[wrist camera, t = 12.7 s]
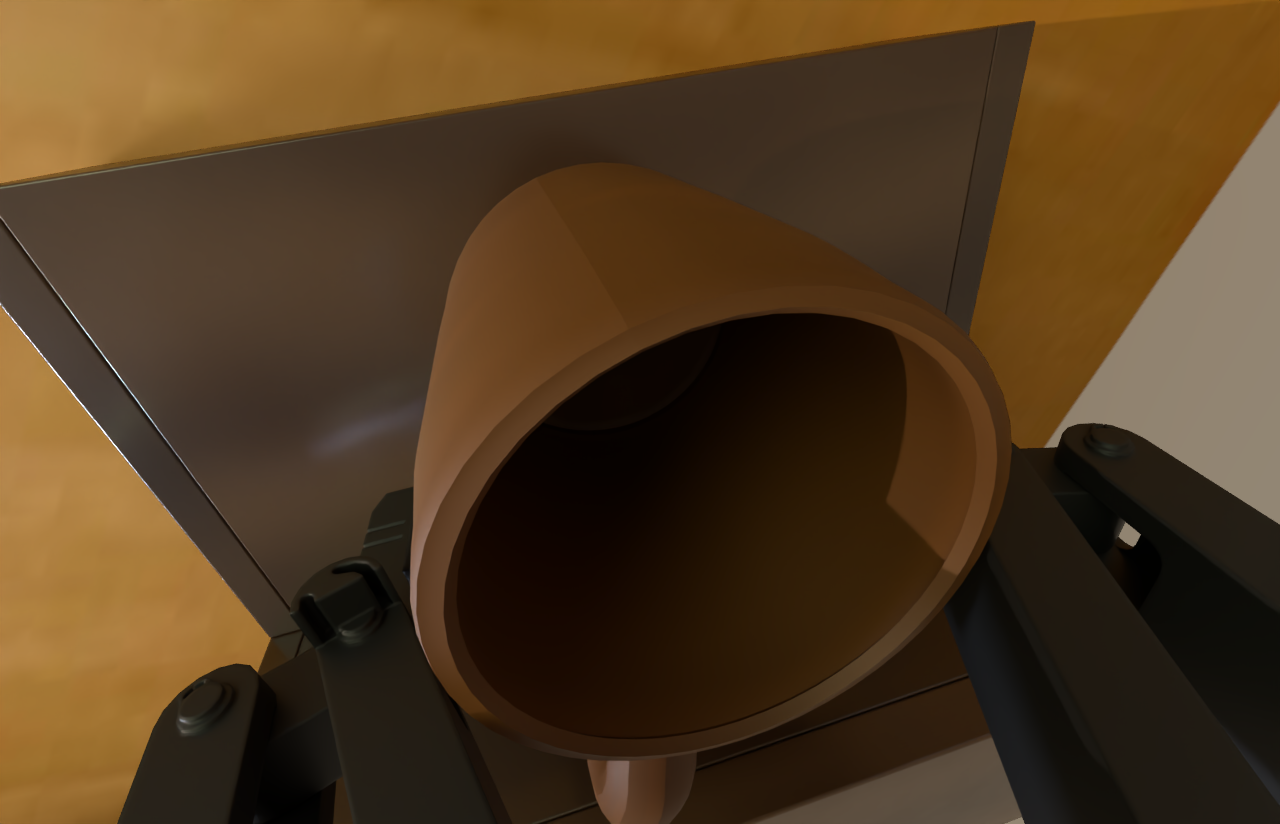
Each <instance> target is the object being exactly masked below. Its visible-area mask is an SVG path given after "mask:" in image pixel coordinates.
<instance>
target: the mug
mask: <svg viewBox="0 0 1280 824" xmlns="http://www.w3.org/2000/svg"><path fill="white" fill-rule="evenodd" d="M1011 453H1012V446H1011V430H1010V420H1009V416H1008V412H1007V408H1006V404H1005V400H1004V396H1003V393H1002V391H1001V389H1000V387H999V385H998V383H997V381H996V379H995V376H994V374H993V372H992V370H991V368H990V366H989V364H988V362H987V361H986V359H985V357H984V356H983V354H982V353H981V352H980V350H979V349H978V348H977V346H976V345H975V344H974V343H973V341H972V340H971V339H970V337H969V336H968V335H967V333H966V332H965V331H964V330H962V329H961V328H960V327H959V326H958V325H957V324H955V323H954V322H953V321H952V320H951V319H950V318H949V317H947V316H946V315H945V314H944V313H943V312H942V311H940V310H939V309H937V308H936V307H934V306H932V305H931V304H929V303H927V302H926V301H924V300H923V299H921V298H919V297H917V296H916V295H914V294H912V293H910V292H909V291H907V290H905V289H903V288H901V287H900V286H898V285H896V284H894V283H893V282H891V281H889V280H888V279H886V278H885V277H883V276H882V275H880V274H879V273H877V272H876V271H874V270H873V269H871V268H870V267H868V266H867V265H865V264H864V263H862V262H860V261H859V260H857V259H856V258H854V257H852V256H850V255H849V254H847V253H845V252H843V251H842V250H840V249H838V248H836V247H835V246H833V245H831V244H829V243H828V242H826V241H824V240H822V239H820V238H818V237H816V236H814V235H812V234H810V233H807V232H805V231H803V230H800V229H798V228H795V227H793V226H791V225H788V224H786V223H784V222H781V221H779V220H777V219H774V218H772V217H769V216H767V215H765V214H762V213H760V212H758V211H755V210H753V209H750V208H748V207H746V206H743V205H741V204H739V203H736V202H734V201H731V200H729V199H727V198H724V197H722V196H719V195H717V194H714V193H711V192H709V191H706V190H703V189H701V188H698V187H695V186H693V185H690V184H687V183H685V182H683V181H680V180H678V179H676V178H673V177H670V176H668V175H665V174H662V173H660V172H657V171H654V170H651V169H648V168H643V167H638V166H633V165H629V164H621V163H603V162H599V163H588V164H578V165H574V166H570V167H565V168H561V169H557V170H554V171H552V172H549V173H547V174H544V175H542V176H539V177H536V178H534V179H533V180H531V181H529V182H527V183H526V184H524V185H522V186H520V187H519V188H517V189H515V190H514V191H513V192H512V193H510V194H509V195H508V196H506V197H505V198H504V199H503V200H501V201H500V202H499V203H498V204H497V205H496V206H495V207H494V208H493V209H492V210H491V211H490V212H489V213H488V214H487V215H486V216H485V217H484V218H483V219H482V220H481V222H480V223H479V225H478V226H477V227H476V229H475V230H474V232H473V233H472V234H471V236H470V237H469V239H468V241H467V243H466V245H465V247H464V249H463V251H462V253H461V255H460V257H459V259H458V261H457V264H456V266H455V269H454V272H453V275H452V278H451V281H450V285H449V289H448V294H447V299H446V305H445V310H444V314H443V318H442V322H441V326H440V330H439V335H438V340H437V345H436V351H435V356H434V361H433V367H432V372H431V377H430V383H429V388H428V393H427V399H426V404H425V409H424V415H423V420H422V425H421V431H420V436H419V441H418V447H417V452H416V460H415V468H414V503H413V533H412V543H411V567H410V604H411V609H412V615H413V620H414V625H415V630H416V634H417V637H418V639H419V641H420V644H421V646H422V648H423V651H424V653H425V656H426V658H427V660H428V662H429V664H430V666H431V668H432V670H433V672H434V673H435V675H436V676H437V678H438V679H439V681H440V682H441V684H442V685H443V687H444V688H445V690H446V691H447V693H448V694H449V695H450V696H451V697H452V698H453V699H454V700H455V701H456V702H457V703H458V704H459V705H460V706H461V707H462V708H463V709H464V710H465V711H466V712H467V713H468V714H469V715H470V716H471V717H473V718H474V719H476V720H477V721H479V722H480V723H481V724H483V725H484V726H486V727H487V728H489V729H490V730H491V731H493V732H495V733H497V734H500V735H502V736H504V737H506V738H508V739H510V740H512V741H514V742H516V743H518V744H521V745H524V746H527V747H530V748H533V749H536V750H539V751H542V752H546V753H551V754H556V755H560V756H565V757H570V758H579V759H587V762H588V768H589V772H590V776H591V780H592V785H593V789H594V793H595V797H596V800H597V802H598V804H599V806H600V809H601V811H602V813H603V814H604V815H605V816H606V818H607V819H608V820H609V822H610V823H611V824H669V823H670V822H671V821H672V820H673V819H674V818H675V816H676V815H677V814H678V813H679V812H680V810H681V809H682V807H683V805H684V804H685V802H686V800H687V798H688V796H689V793H690V790H691V786H692V783H693V779H694V774H695V769H696V756H697V752H700V751H704V750H708V749H713V748H717V747H720V746H724V745H727V744H730V743H733V742H737V741H740V740H743V739H746V738H749V737H752V736H754V735H757V734H760V733H762V732H765V731H768V730H770V729H773V728H775V727H778V726H780V725H782V724H784V723H787V722H789V721H791V720H793V719H795V718H798V717H800V716H802V715H804V714H806V713H808V712H809V711H811V710H813V709H815V708H817V707H819V706H821V705H823V704H825V703H826V702H828V701H830V700H831V699H833V698H835V697H836V696H838V695H840V694H841V693H843V692H844V691H846V690H848V689H849V688H851V687H853V686H854V685H856V684H857V683H858V682H860V681H861V680H863V679H864V678H865V677H867V676H868V675H870V674H871V673H873V672H874V671H875V670H877V669H878V668H879V667H881V666H882V665H883V664H884V663H886V662H887V661H888V660H889V659H891V658H892V657H893V656H894V655H895V654H897V653H898V652H899V651H900V650H902V649H903V648H904V647H905V646H906V645H907V644H908V643H909V642H910V641H911V640H912V639H913V638H914V637H915V636H917V635H918V634H919V633H920V632H921V631H922V630H923V629H924V628H925V627H926V626H927V625H928V624H929V622H930V621H931V620H932V619H933V618H934V617H935V616H936V615H937V614H938V613H939V612H940V610H941V609H942V608H943V607H944V606H945V605H946V603H947V602H948V601H949V600H950V598H951V597H952V596H953V594H954V593H955V592H956V591H957V589H958V588H959V587H960V586H961V584H962V583H963V581H964V580H965V578H966V577H967V575H968V574H969V572H970V571H971V569H972V568H973V566H974V564H975V563H976V561H977V560H978V558H979V556H980V554H981V552H982V550H983V548H984V547H985V545H986V543H987V541H988V539H989V537H990V535H991V533H992V530H993V528H994V525H995V523H996V520H997V518H998V515H999V512H1000V510H1001V507H1002V504H1003V500H1004V496H1005V492H1006V488H1007V484H1008V480H1009V472H1010V463H1011Z"/></svg>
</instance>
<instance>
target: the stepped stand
mask: <svg viewBox="0 0 1280 824" xmlns="http://www.w3.org/2000/svg"><path fill="white" fill-rule="evenodd" d="M1034 27H1035V21H1027V22H1019V23H1012V24H1004V25H997V26H989V27H982V28H974V29H967V30H959V31H952V32H944V33H937V34H930V35H922V36H915V37H907V38H900V39H893V40H887V41H880V42H874V43H868V44H862V45H855V46H849V47H843V48H836V49H830V50H824V51H817V52H811V53H805V54H798V55H792V56H786V57H780V58H773V59H767V60H761V61H754V62H748V63H742V64H735V65H729V66H723V67H717V68H710V69H704V70H698V71H691V72H685V73H679V74H672V75H666V76H660V77H653V78H647V79H641V80H635V81H628V82H622V83H616V84H609V85H603V86H597V87H590V88H584V89H578V90H572V91H565V92H559V93H553V94H546V95H540V96H534V97H527V98H521V99H515V100H508V101H502V102H496V103H490V104H483V105H477V106H471V107H464V108H458V109H452V110H445V111H439V112H433V113H426V114H420V115H414V116H408V117H401V118H395V119H389V120H382V121H376V122H370V123H363V124H357V125H351V126H345V127H338V128H332V129H326V130H319V131H313V132H307V133H300V134H294V135H288V136H281V137H275V138H269V139H263V140H256V141H250V142H244V143H237V144H231V145H225V146H218V147H212V148H206V149H200V150H193V151H187V152H181V153H174V154H168V155H162V156H155V157H149V158H143V159H136V160H131V161H124V162H118V163H111V164H105V165H99V166H92V167H87V168H81V169H76V170H70V171H65V172H60V173H54V174H49V175H43V176H38V177H33V178H27V179H22V180H16V181H11V182H5V183H0V305H1V306H2V308H3V309H4V310H5V311H6V313H7V314H8V315H9V316H10V318H11V319H12V320H13V321H14V322H15V324H16V325H17V326H18V327H19V329H20V330H21V331H22V332H23V334H24V335H25V336H26V337H27V339H28V340H29V341H30V342H31V343H32V345H33V346H34V347H35V348H36V350H37V351H38V352H39V353H40V355H41V356H42V357H43V358H44V359H45V361H46V362H47V363H48V364H49V366H50V367H51V368H52V369H53V371H54V372H55V373H56V374H57V375H58V377H59V378H60V379H61V380H62V382H63V383H64V384H65V385H66V387H67V388H68V389H69V390H70V392H71V393H72V394H73V395H74V396H75V398H76V399H77V400H78V401H79V403H80V404H81V405H82V406H83V408H84V409H85V410H86V411H87V412H88V414H89V415H90V416H91V417H92V419H93V420H94V421H95V422H96V424H97V425H98V426H99V427H100V429H101V430H102V431H103V432H104V433H105V435H106V436H107V437H108V438H109V440H110V441H111V442H112V443H113V445H114V446H115V447H116V448H117V449H118V451H119V452H120V453H121V454H122V456H123V457H124V458H125V459H126V461H127V462H128V463H129V464H130V465H131V467H132V468H133V469H134V470H135V472H136V473H137V474H138V475H139V477H140V478H141V479H142V480H143V482H144V483H145V484H146V485H147V486H148V488H149V489H150V490H151V491H152V493H153V494H154V495H155V496H156V498H157V499H158V500H159V501H160V502H161V504H162V505H163V506H164V507H165V509H166V510H167V511H168V512H169V514H170V515H171V516H172V517H173V519H174V520H175V521H176V522H177V523H178V525H179V526H180V527H181V528H182V530H183V531H184V532H185V533H186V535H187V536H188V537H189V538H190V539H191V541H192V542H193V543H194V544H195V546H196V547H197V548H198V549H199V551H200V552H201V553H202V554H203V555H204V557H205V558H206V559H207V560H208V562H209V563H210V564H211V565H212V567H213V568H214V569H215V570H216V572H217V573H218V574H219V575H220V576H221V578H222V579H223V580H224V581H225V583H226V584H227V585H228V586H229V588H230V589H231V590H232V591H233V592H234V594H235V595H236V596H237V597H238V599H239V600H240V601H241V602H242V604H243V605H244V606H245V607H246V609H247V610H248V611H249V612H250V613H251V615H252V616H253V617H254V618H255V620H256V621H257V622H258V623H259V625H260V626H261V627H262V628H263V629H264V631H265V632H266V633H267V634H268V636H269V637H271V640H270V642H269V645H268V647H267V650H266V652H265V655H264V657H263V660H262V662H261V665H260V668H259V670H258V674H259V675H260V676H261V675H263V674H265V673H267V672H268V671H270V670H272V669H274V668H276V667H278V666H280V665H282V664H283V663H285V662H287V661H289V660H291V659H293V658H295V657H297V656H298V655H300V654H302V653H303V652H305V651H307V650H308V649H310V648H311V647H313V645H312V644H311V643H310V641H309V640H308V639H307V637H306V636H305V635H304V633H303V632H302V631H301V629H300V628H299V627H298V625H297V624H296V623H295V621H294V620H293V619H292V617H291V616H290V607H291V602H292V600H293V598H294V597H295V595H296V593H297V592H298V590H299V588H300V587H301V586H302V585H303V584H304V583H305V582H306V581H307V580H308V579H310V578H311V577H312V576H313V575H314V574H315V573H317V572H319V571H320V570H322V569H323V568H325V567H326V566H328V565H330V564H332V563H334V562H337V561H340V560H342V559H345V558H348V557H355V556H360V554H361V551H362V549H363V548H364V546H363V543H364V540H365V536H366V534H367V533H368V531H367V529H368V525H369V521H370V518H371V514H372V511H373V510H374V509H375V507H376V506H377V505H378V504H379V502H380V501H381V500H382V498H383V497H384V496H385V495H386V493H390V492H394V491H398V490H402V489H406V488H410V487H414V468H415V460H416V452H417V447H418V441H419V436H420V431H421V425H422V420H423V415H424V409H425V404H426V399H427V393H428V388H429V383H430V377H431V372H432V367H433V361H434V356H435V351H436V345H437V340H438V335H439V330H440V326H441V322H442V318H443V314H444V310H445V305H446V299H447V294H448V289H449V285H450V281H451V278H452V275H453V272H454V269H455V266H456V264H457V261H458V259H459V257H460V255H461V253H462V251H463V249H464V247H465V245H466V243H467V241H468V239H469V237H470V236H471V234H472V233H473V232H474V230H475V229H476V227H477V226H478V225H479V223H480V222H481V220H482V219H483V218H484V217H485V216H486V215H487V214H488V213H489V212H490V211H491V210H492V209H493V208H494V207H495V206H496V205H497V204H498V203H499V202H500V201H501V200H503V199H504V198H505V197H506V196H508V195H509V194H510V193H512V192H513V191H514V190H515V189H517V188H519V187H520V186H522V185H524V184H526V183H527V182H529V181H531V180H533V179H534V178H536V177H539V176H542V175H544V174H547V173H549V172H552V171H554V170H557V169H561V168H565V167H570V166H574V165H578V164H588V163H599V162H603V163H621V164H629V165H633V166H638V167H643V168H648V169H651V170H654V171H657V172H660V173H662V174H665V175H668V176H670V177H673V178H676V179H678V180H680V181H683V182H685V183H687V184H690V185H693V186H695V187H698V188H701V189H703V190H706V191H709V192H711V193H714V194H717V195H719V196H722V197H724V198H727V199H729V200H731V201H734V202H736V203H739V204H741V205H743V206H746V207H748V208H750V209H753V210H755V211H758V212H760V213H762V214H765V215H767V216H769V217H772V218H774V219H777V220H779V221H781V222H784V223H786V224H788V225H791V226H793V227H795V228H798V229H800V230H803V231H805V232H807V233H810V234H812V235H814V236H816V237H818V238H820V239H822V240H824V241H826V242H828V243H829V244H831V245H833V246H835V247H836V248H838V249H840V250H842V251H843V252H845V253H847V254H849V255H850V256H852V257H854V258H856V259H857V260H859V261H860V262H862V263H864V264H865V265H867V266H868V267H870V268H871V269H873V270H874V271H876V272H877V273H879V274H880V275H882V276H883V277H885V278H886V279H888V280H889V281H891V282H893V283H894V284H896V285H898V286H900V287H901V288H903V289H905V290H907V291H909V292H910V293H912V294H914V295H916V296H917V297H919V298H921V299H923V300H924V301H926V302H927V303H929V304H931V305H932V306H934V307H936V308H937V309H939V310H940V311H942V312H943V313H944V314H945V315H946V316H947V317H949V318H950V319H951V320H952V321H953V322H954V323H955V324H957V325H958V326H959V327H960V328H961V329H962V330H964V331H965V332H966V333H967V335H969V331H970V326H971V321H972V317H973V312H974V307H975V303H976V298H977V293H978V289H979V284H980V279H981V275H982V270H983V265H984V261H985V256H986V251H987V246H988V242H989V237H990V232H991V228H992V223H993V218H994V214H995V209H996V204H997V200H998V195H999V190H1000V186H1001V181H1002V176H1003V172H1004V167H1005V162H1006V158H1007V153H1008V148H1009V144H1010V139H1011V134H1012V130H1013V125H1014V120H1015V116H1016V111H1017V106H1018V101H1019V97H1020V92H1021V87H1022V83H1023V78H1024V73H1025V69H1026V64H1027V59H1028V55H1029V50H1030V45H1031V41H1032V36H1033V31H1034ZM460 708H461V710H462V712H463V714H464V717H465V719H466V721H467V723H468V725H469V728H470V730H471V732H472V734H473V737H474V739H475V741H476V743H477V745H478V748H479V750H480V752H481V754H482V757H483V759H484V761H485V763H486V765H487V768H488V770H489V772H490V774H491V777H492V779H493V781H494V783H495V785H496V788H497V790H498V792H499V794H500V797H501V799H502V801H503V803H504V805H505V808H506V810H507V812H508V814H509V817H510V819H511V821H512V823H513V824H611V823H610V822H609V820H608V819H607V818H606V816H605V815H604V814H603V813H602V811H601V809H600V806H599V804H598V802H597V800H596V797H595V793H594V789H593V785H592V780H591V776H590V772H589V768H588V762H587V759H579V758H570V757H565V756H560V755H556V754H551V753H546V752H542V751H539V750H536V749H533V748H530V747H527V746H524V745H521V744H518V743H516V742H514V741H512V740H510V739H508V738H506V737H504V736H502V735H500V734H497V733H495V732H493V731H491V730H490V729H489V728H487V727H486V726H484V725H483V724H481V723H480V722H479V721H477V720H476V719H474V718H473V717H471V716H470V715H469V714H468V713H467V712H466V711H465V710H464V709H463V708H462V707H461V706H460ZM1020 817H1022V815H1021V812H1020V810H1019V807H1018V804H1017V802H1016V799H1015V797H1014V794H1013V791H1012V789H1011V786H1010V783H1009V781H1008V778H1007V776H1006V773H1005V770H1004V768H1003V765H1002V762H1001V760H1000V757H999V754H998V752H997V749H996V747H995V744H994V741H993V739H992V736H991V733H990V731H989V728H988V726H987V723H986V720H985V718H984V715H983V712H982V710H981V707H980V704H979V702H978V699H977V697H976V694H975V691H974V689H973V686H972V683H971V681H970V678H969V676H968V673H967V670H966V668H965V665H964V662H963V660H962V657H961V654H960V652H959V649H958V647H957V644H956V641H955V639H954V636H953V633H952V631H951V628H950V626H949V623H948V620H947V618H946V615H945V612H944V610H943V608H942V609H941V610H940V612H939V613H938V614H937V615H936V616H935V617H934V618H933V619H932V620H931V621H930V622H929V624H928V625H927V626H926V627H925V628H924V629H923V630H922V631H921V632H920V633H919V634H918V635H917V636H915V637H914V638H913V639H912V640H911V641H910V642H909V643H908V644H907V645H906V646H905V647H904V648H903V649H902V650H900V651H899V652H898V653H897V654H895V655H894V656H893V657H892V658H891V659H889V660H888V661H887V662H886V663H884V664H883V665H882V666H881V667H879V668H878V669H877V670H875V671H874V672H873V673H871V674H870V675H868V676H867V677H865V678H864V679H863V680H861V681H860V682H858V683H857V684H856V685H854V686H853V687H851V688H849V689H848V690H846V691H844V692H843V693H841V694H840V695H838V696H836V697H835V698H833V699H831V700H830V701H828V702H826V703H825V704H823V705H821V706H819V707H817V708H815V709H813V710H811V711H809V712H808V713H806V714H804V715H802V716H800V717H798V718H795V719H793V720H791V721H789V722H787V723H784V724H782V725H780V726H778V727H775V728H773V729H770V730H768V731H765V732H762V733H760V734H757V735H754V736H752V737H749V738H746V739H743V740H740V741H737V742H733V743H730V744H727V745H724V746H720V747H717V748H713V749H708V750H704V751H700V752H697V756H696V769H695V774H694V779H693V783H692V786H691V790H690V793H689V796H688V798H687V800H686V802H685V804H684V805H683V807H682V809H681V810H680V812H679V813H678V814H677V815H676V816H675V818H674V819H673V820H672V821H671V822H670V823H669V824H1005V823H1007V822H1010V821H1012V820H1015V819H1018V818H1020ZM333 824H353V820H352V815H351V810H350V806H349V801H348V797H347V792H346V787H345V783H344V778H343V777H341V778H339V779H338V780H336V793H335V806H334V819H333Z"/></svg>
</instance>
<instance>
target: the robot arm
mask: <svg viewBox="0 0 1280 824" xmlns="http://www.w3.org/2000/svg"><path fill="white" fill-rule="evenodd" d="M1011 446H1012V453H1011V463H1010V472H1009V480H1008V484H1007V488H1006V492H1005V496H1004V500H1003V504H1002V507H1001V510H1000V512H999V515H998V518H997V520H996V523H995V525H994V528H993V530H992V533H991V535H990V537H989V539H988V541H987V543H986V545H985V547H984V548H983V550H982V552H981V554H980V556H979V558H978V560H977V561H976V563H975V564H974V566H973V568H972V569H971V571H970V572H969V574H968V575H967V577H966V578H965V580H964V581H963V583H962V584H961V586H960V587H959V588H958V589H957V591H956V592H955V593H954V594H953V596H952V597H951V598H950V600H949V601H948V602H947V603H946V605H945V606H944V607H943V610H944V612H945V615H946V618H947V620H948V623H949V626H950V628H951V631H952V633H953V636H954V639H955V641H956V644H957V647H958V649H959V652H960V654H961V657H962V660H963V662H964V665H965V668H966V670H967V673H968V676H969V678H970V681H971V683H972V686H973V689H974V691H975V694H976V697H977V699H978V702H979V704H980V707H981V710H982V712H983V715H984V718H985V720H986V723H987V726H988V728H989V731H990V733H991V736H992V739H993V741H994V744H995V747H996V749H997V752H998V754H999V757H1000V760H1001V762H1002V765H1003V768H1004V770H1005V773H1006V776H1007V778H1008V781H1009V783H1010V786H1011V789H1012V791H1013V794H1014V797H1015V799H1016V802H1017V804H1018V807H1019V810H1020V812H1021V815H1022V818H1023V820H1024V823H1025V824H1280V525H1279V524H1278V523H1276V522H1275V521H1273V520H1272V519H1270V518H1268V517H1267V516H1265V515H1264V514H1262V513H1261V512H1259V511H1257V510H1256V509H1254V508H1253V507H1251V506H1250V505H1248V504H1246V503H1245V502H1243V501H1242V500H1240V499H1239V498H1237V497H1235V496H1234V495H1232V494H1231V493H1229V492H1228V491H1226V490H1224V489H1223V488H1221V487H1220V486H1218V485H1217V484H1215V483H1213V482H1212V481H1210V480H1209V479H1207V478H1205V477H1204V476H1202V475H1201V474H1199V473H1198V472H1196V471H1195V470H1193V469H1192V468H1190V467H1188V466H1187V465H1185V464H1184V463H1182V462H1181V461H1179V460H1177V459H1175V458H1174V457H1173V456H1171V455H1169V454H1168V453H1166V452H1165V451H1163V450H1162V449H1160V448H1159V447H1157V446H1155V445H1154V444H1152V443H1151V442H1149V441H1148V440H1146V439H1144V438H1143V437H1140V436H1138V435H1136V434H1134V433H1132V432H1130V431H1128V430H1124V429H1121V428H1118V427H1115V426H1112V425H1107V424H1105V425H1103V424H1096V423H1090V424H1077V425H1074V426H1071V427H1068V428H1067V429H1066V430H1065V431H1064V432H1063V434H1062V436H1061V439H1060V442H1059V445H1058V447H1055V448H1028V449H1019V448H1018V447H1017V446H1016V445H1015V444H1014V443H1012V442H1011ZM413 503H414V487H410V488H406V489H402V490H398V491H394V492H390V493H386V495H385V496H384V497H383V498H382V500H381V501H380V502H379V504H378V505H377V506H376V507H375V509H374V510H373V511H372V514H371V518H370V521H369V525H368V529H367V531H368V533H367V534H366V536H365V540H364V543H363V546H364V548H363V549H362V551H361V554H360V556H355V557H348V558H345V559H342V560H340V561H337V562H334V563H332V564H330V565H328V566H326V567H325V568H323V569H322V570H320V571H319V572H317V573H315V574H314V575H313V576H312V577H311V578H310V579H308V580H307V581H306V582H305V583H304V584H303V585H302V586H301V587H300V588H299V590H298V592H297V593H296V595H295V597H294V598H293V600H292V602H291V607H290V616H291V617H292V619H293V620H294V621H295V623H296V624H297V625H298V627H299V628H300V629H301V631H302V632H303V633H304V635H305V636H306V637H307V639H308V640H309V641H310V643H311V644H312V645H313V647H311V648H310V649H308V650H307V651H305V652H303V653H302V654H300V655H298V656H297V657H295V658H293V659H291V660H289V661H287V662H285V663H283V664H282V665H280V666H278V667H276V668H274V669H272V670H270V671H268V672H267V673H265V674H263V675H261V676H260V675H259V674H258V673H257V672H256V671H255V670H254V669H253V668H252V667H251V666H250V665H243V664H233V665H229V666H225V667H221V668H218V669H216V670H214V671H212V672H210V673H208V674H206V675H204V676H202V677H200V678H198V679H197V680H196V681H194V682H193V683H192V684H190V685H189V686H188V687H187V688H185V689H184V690H183V691H181V692H180V693H179V694H178V695H177V696H176V697H175V698H174V699H173V701H172V702H171V703H170V704H169V705H168V706H167V707H166V708H165V709H164V710H163V712H162V714H161V716H160V717H159V719H158V721H157V723H156V724H155V726H154V728H153V730H152V733H151V736H150V738H149V741H148V744H147V746H146V749H145V751H144V754H143V757H142V759H141V762H140V765H139V767H138V770H137V773H136V775H135V778H134V781H133V783H132V786H131V788H130V791H129V794H128V796H127V799H126V802H125V804H124V807H123V810H122V812H121V815H120V817H119V820H118V823H117V824H333V819H334V806H335V793H336V780H338V779H339V778H341V777H343V778H344V783H345V787H346V792H347V797H348V801H349V806H350V810H351V815H352V820H353V824H513V823H512V821H511V819H510V817H509V814H508V812H507V810H506V808H505V805H504V803H503V801H502V799H501V797H500V794H499V792H498V790H497V788H496V785H495V783H494V781H493V779H492V777H491V774H490V772H489V770H488V768H487V765H486V763H485V761H484V759H483V757H482V754H481V752H480V750H479V748H478V745H477V743H476V741H475V739H474V737H473V734H472V732H471V730H470V728H469V725H468V723H467V721H466V719H465V717H464V714H463V712H462V710H461V708H460V705H459V704H458V703H457V702H456V701H455V700H454V699H453V698H452V697H451V696H450V695H449V694H448V693H447V691H446V690H445V688H444V687H443V685H442V684H441V682H440V681H439V679H438V678H437V676H436V675H435V673H434V672H433V670H432V668H431V666H430V664H429V662H428V660H427V658H426V656H425V653H424V651H423V648H422V646H421V644H420V641H419V639H418V637H417V634H416V630H415V625H414V620H413V615H412V609H411V604H410V567H411V543H412V533H413ZM1125 522H1126V523H1128V524H1129V525H1130V526H1131V527H1133V528H1134V529H1135V530H1136V531H1137V532H1139V533H1140V534H1141V536H1140V538H1139V540H1138V542H1137V543H1136V545H1135V546H1134V547H1132V546H1130V545H1128V544H1127V543H1125V542H1124V541H1123V540H1121V539H1120V538H1119V537H1118V536H1119V534H1120V532H1121V530H1122V528H1123V526H1124V524H1125Z"/></svg>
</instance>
